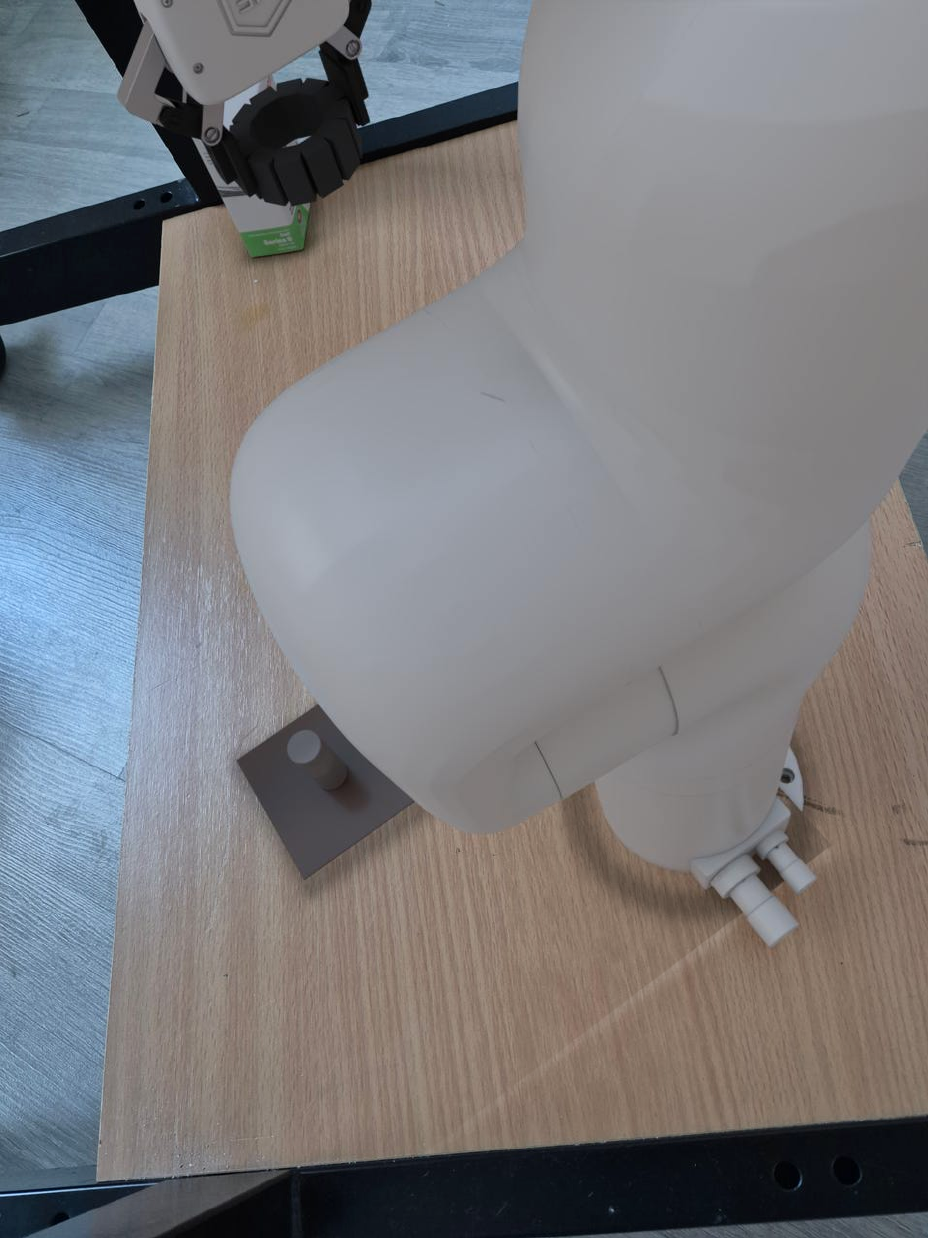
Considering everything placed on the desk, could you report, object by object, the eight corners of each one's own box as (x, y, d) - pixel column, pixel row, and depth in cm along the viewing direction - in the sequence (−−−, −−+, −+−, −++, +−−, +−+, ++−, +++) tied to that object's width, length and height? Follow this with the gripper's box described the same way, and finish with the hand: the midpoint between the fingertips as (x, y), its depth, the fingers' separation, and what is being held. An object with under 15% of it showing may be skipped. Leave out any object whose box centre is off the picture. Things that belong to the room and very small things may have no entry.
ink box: (305, 252, 83) (250, 127, 73) (248, 259, 84) (186, 137, 74) (316, 178, 87) (265, 50, 76) (262, 186, 88) (205, 60, 77)
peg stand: (438, 795, 60) (412, 760, 54) (312, 885, 59) (272, 860, 53) (363, 685, 64) (332, 642, 58) (245, 768, 63) (201, 732, 57)
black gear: (384, 159, 61) (370, 116, 58) (282, 224, 60) (263, 183, 57) (325, 104, 64) (309, 60, 62) (228, 164, 63) (208, 123, 61)
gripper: (32, -54, 43) (205, 257, 59) (367, -249, 45) (449, 103, 60) (-24, -116, 47) (153, 193, 62) (289, -294, 48) (385, 49, 64)
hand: (298, 147), depth 61 cm, fingers closed on black gear, 7 cm apart
